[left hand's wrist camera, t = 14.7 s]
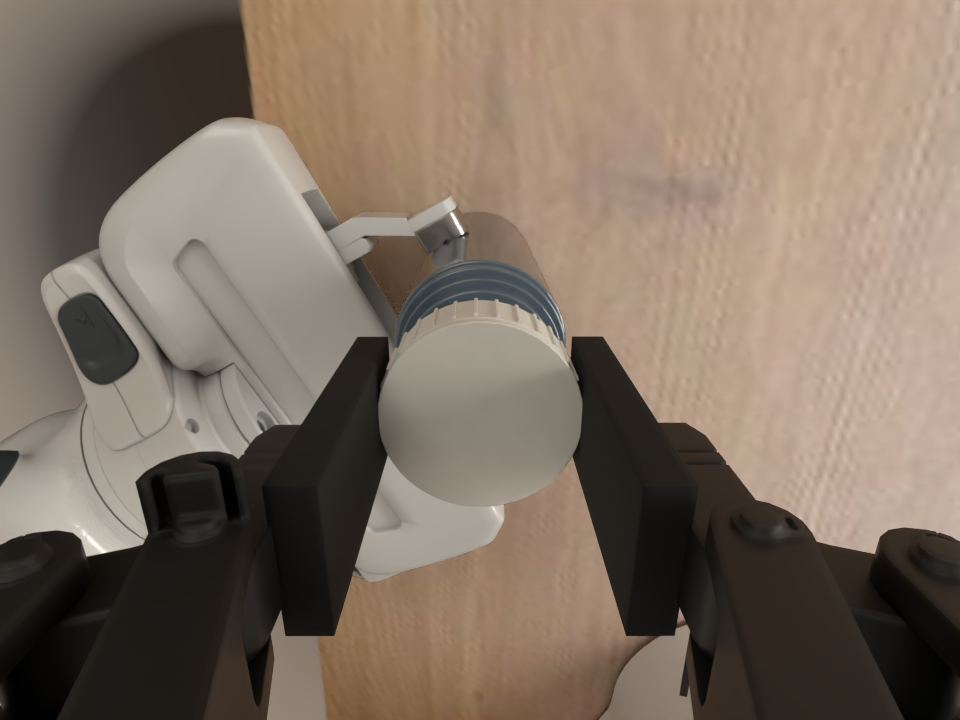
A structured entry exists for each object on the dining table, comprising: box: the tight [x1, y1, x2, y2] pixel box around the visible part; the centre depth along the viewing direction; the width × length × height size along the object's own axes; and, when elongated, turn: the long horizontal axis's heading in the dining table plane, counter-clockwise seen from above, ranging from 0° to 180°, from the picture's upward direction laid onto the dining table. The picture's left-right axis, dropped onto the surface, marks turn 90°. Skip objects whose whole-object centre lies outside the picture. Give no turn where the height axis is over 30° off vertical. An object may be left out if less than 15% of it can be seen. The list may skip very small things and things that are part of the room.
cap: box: [378, 298, 583, 507], centre depth 13 cm, size 5×5×2 cm
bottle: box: [395, 212, 566, 348], centre depth 21 cm, size 5×5×17 cm
